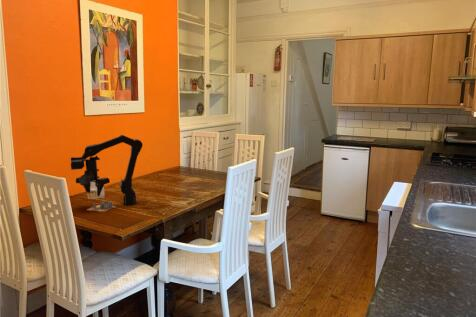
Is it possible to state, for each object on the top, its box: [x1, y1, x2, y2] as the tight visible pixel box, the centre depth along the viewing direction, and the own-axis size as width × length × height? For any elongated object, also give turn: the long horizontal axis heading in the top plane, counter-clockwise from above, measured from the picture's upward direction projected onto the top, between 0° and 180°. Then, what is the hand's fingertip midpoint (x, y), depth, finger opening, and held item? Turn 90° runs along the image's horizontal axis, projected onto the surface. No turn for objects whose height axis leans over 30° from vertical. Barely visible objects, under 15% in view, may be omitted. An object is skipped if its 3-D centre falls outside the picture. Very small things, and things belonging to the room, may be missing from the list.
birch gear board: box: [86, 200, 116, 212], centre depth 205 cm, size 12×10×5 cm
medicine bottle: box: [89, 180, 106, 200], centre depth 229 cm, size 7×7×12 cm
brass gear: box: [86, 191, 100, 200], centre depth 205 cm, size 6×6×3 cm
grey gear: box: [99, 200, 114, 210], centre depth 206 cm, size 6×6×3 cm
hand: (93, 195), depth 205 cm, fingers closed on brass gear, 6 cm apart
